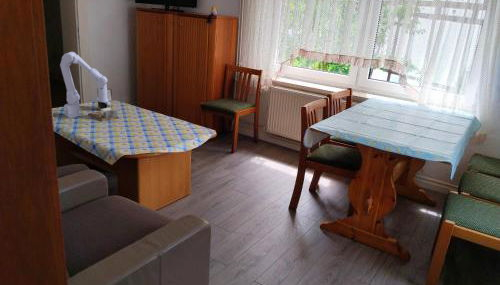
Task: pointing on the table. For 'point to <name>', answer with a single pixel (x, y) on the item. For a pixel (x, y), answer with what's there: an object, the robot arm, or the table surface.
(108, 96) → the coffee box
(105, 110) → the white rectangular block
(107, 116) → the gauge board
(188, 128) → the table surface
